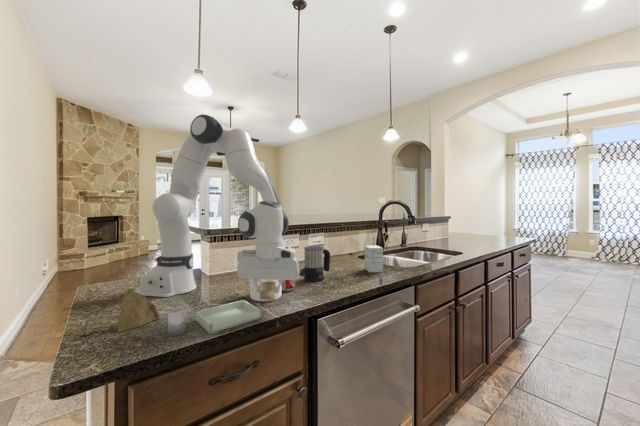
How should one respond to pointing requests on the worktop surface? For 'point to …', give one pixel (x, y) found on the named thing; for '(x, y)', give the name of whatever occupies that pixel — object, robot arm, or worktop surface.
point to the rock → (136, 311)
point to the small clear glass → (176, 322)
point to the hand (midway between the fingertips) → (268, 291)
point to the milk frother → (315, 263)
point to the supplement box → (373, 258)
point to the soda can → (288, 285)
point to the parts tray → (227, 316)
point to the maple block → (267, 290)
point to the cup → (256, 295)
